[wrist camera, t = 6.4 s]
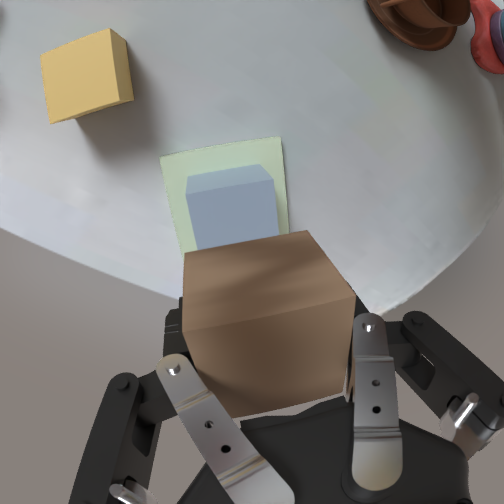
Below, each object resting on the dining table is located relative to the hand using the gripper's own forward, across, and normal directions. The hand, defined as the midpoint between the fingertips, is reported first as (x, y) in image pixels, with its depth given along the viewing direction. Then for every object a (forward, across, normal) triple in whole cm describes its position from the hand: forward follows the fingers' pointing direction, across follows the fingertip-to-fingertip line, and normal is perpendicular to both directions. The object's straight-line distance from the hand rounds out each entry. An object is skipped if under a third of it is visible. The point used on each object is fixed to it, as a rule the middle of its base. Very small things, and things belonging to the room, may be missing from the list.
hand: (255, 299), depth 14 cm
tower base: (+14, 0, 0) cm, 14 cm away
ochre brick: (+14, +9, -13) cm, 21 cm away
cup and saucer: (+15, -20, -19) cm, 32 cm away
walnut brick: (+1, 0, 0) cm, 1 cm away
